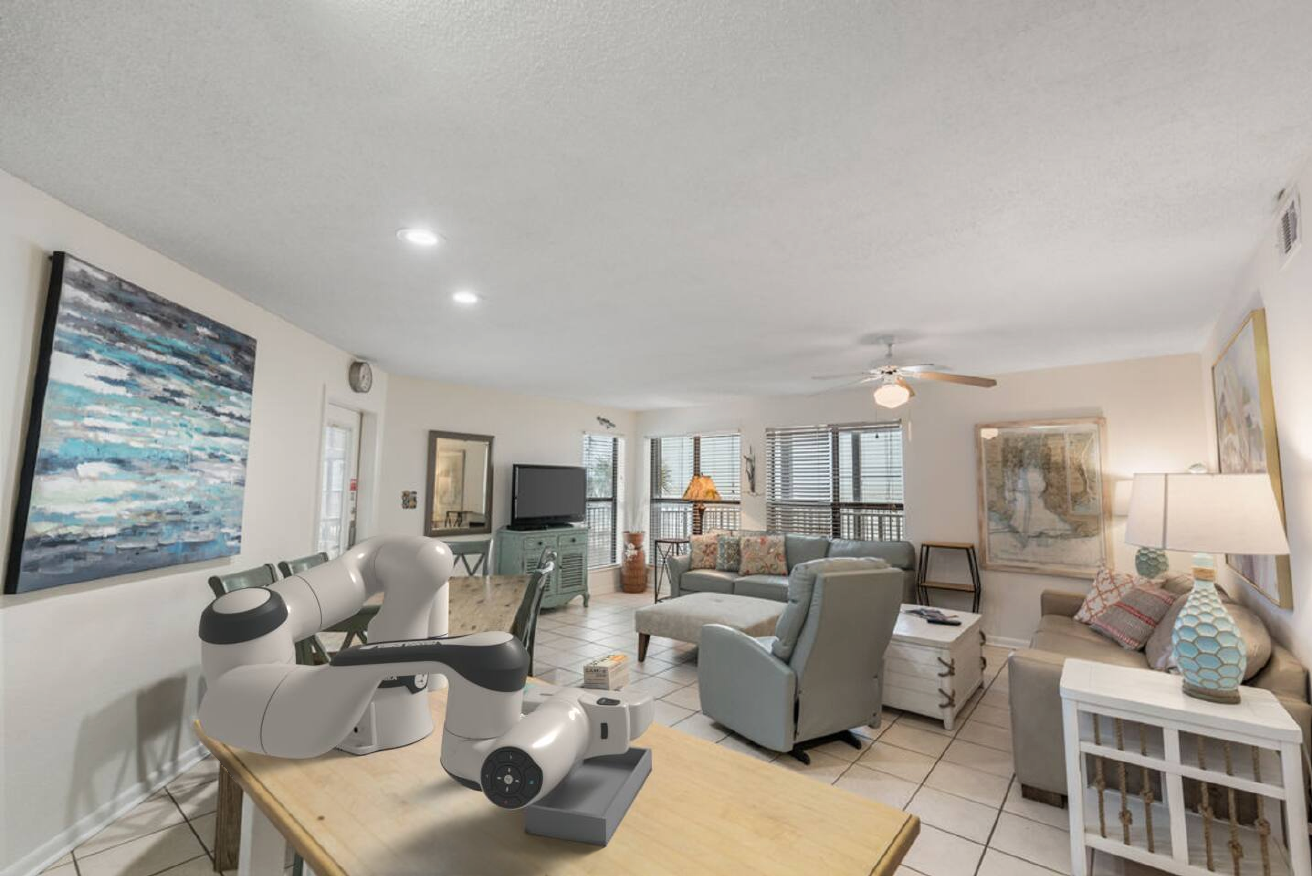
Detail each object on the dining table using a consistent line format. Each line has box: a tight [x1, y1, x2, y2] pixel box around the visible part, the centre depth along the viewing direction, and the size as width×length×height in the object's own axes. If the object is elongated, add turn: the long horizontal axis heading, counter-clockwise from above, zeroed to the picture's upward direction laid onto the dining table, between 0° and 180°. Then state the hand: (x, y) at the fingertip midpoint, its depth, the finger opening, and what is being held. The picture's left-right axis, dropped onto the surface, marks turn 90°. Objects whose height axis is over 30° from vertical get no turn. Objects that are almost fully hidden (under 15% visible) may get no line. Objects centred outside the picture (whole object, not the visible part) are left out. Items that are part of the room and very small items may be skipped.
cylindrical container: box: [427, 581, 450, 693], centre depth 140 cm, size 7×7×25 cm
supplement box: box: [582, 654, 632, 692], centre depth 93 cm, size 8×5×13 cm, turn 158°
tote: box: [524, 745, 653, 847], centre depth 87 cm, size 12×21×4 cm, turn 164°
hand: (605, 689), depth 92 cm, fingers closed on supplement box, 5 cm apart
